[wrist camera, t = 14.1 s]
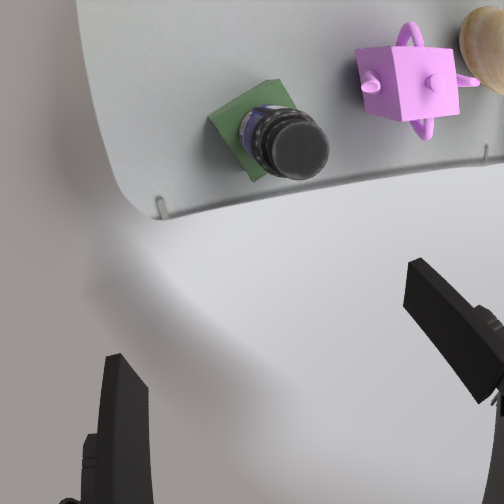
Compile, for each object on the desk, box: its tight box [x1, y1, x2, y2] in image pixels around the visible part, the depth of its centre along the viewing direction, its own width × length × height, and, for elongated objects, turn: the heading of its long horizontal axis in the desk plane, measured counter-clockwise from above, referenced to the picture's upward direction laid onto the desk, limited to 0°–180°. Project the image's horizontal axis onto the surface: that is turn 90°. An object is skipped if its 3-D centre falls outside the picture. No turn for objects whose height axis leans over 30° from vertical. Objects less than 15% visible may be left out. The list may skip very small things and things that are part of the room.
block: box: [208, 79, 297, 182], centre depth 34 cm, size 8×8×5 cm
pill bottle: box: [238, 104, 329, 180], centre depth 27 cm, size 6×6×11 cm
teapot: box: [355, 22, 480, 141], centre depth 30 cm, size 15×13×11 cm
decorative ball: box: [459, 7, 504, 95], centre depth 27 cm, size 15×15×15 cm
